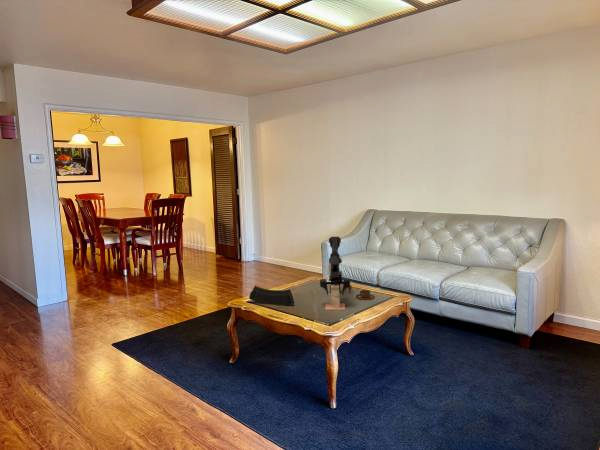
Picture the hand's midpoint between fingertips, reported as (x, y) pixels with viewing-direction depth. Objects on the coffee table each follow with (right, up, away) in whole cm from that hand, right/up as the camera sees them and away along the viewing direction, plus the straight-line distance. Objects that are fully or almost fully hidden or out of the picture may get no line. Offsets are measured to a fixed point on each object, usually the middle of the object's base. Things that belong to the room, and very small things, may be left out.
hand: (335, 294), depth 252 cm
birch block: (0, -7, +2) cm, 8 cm away
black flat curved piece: (-40, -8, +12) cm, 43 cm away
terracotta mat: (0, -8, +2) cm, 8 cm away
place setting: (+21, -6, +25) cm, 33 cm away
